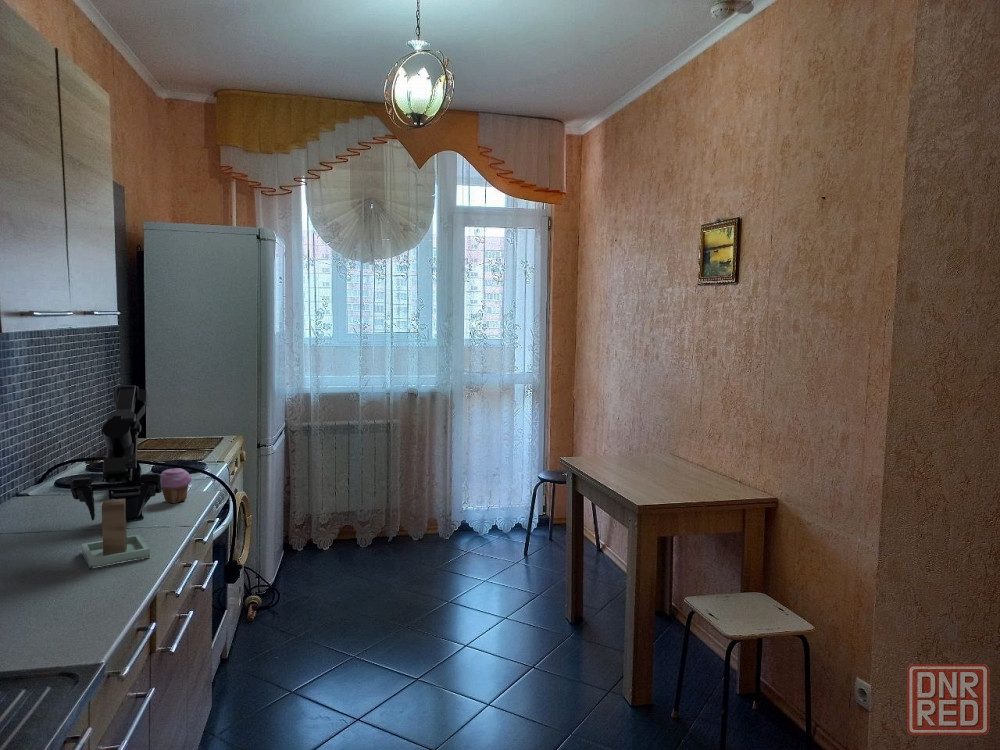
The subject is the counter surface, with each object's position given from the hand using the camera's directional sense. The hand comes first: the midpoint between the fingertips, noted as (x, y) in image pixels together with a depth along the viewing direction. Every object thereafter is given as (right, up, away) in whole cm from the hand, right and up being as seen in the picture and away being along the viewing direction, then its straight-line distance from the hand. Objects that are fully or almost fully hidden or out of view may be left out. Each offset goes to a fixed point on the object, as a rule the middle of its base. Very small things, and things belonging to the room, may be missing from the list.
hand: (115, 517), depth 155 cm
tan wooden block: (0, -8, -1) cm, 8 cm away
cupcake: (-7, -4, +42) cm, 43 cm away
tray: (+1, -9, -1) cm, 9 cm away
